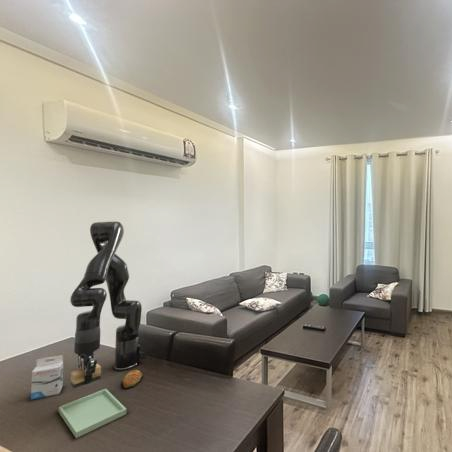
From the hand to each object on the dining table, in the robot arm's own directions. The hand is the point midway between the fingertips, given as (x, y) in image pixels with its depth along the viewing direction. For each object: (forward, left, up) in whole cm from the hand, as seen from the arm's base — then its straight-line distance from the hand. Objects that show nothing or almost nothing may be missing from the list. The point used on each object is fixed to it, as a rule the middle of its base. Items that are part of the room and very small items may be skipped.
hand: (86, 381), depth 107 cm
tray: (0, +7, -10) cm, 12 cm away
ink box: (+7, -22, -10) cm, 25 cm away
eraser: (0, 0, 0) cm, 0 cm away
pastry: (-17, -4, -10) cm, 20 cm away
